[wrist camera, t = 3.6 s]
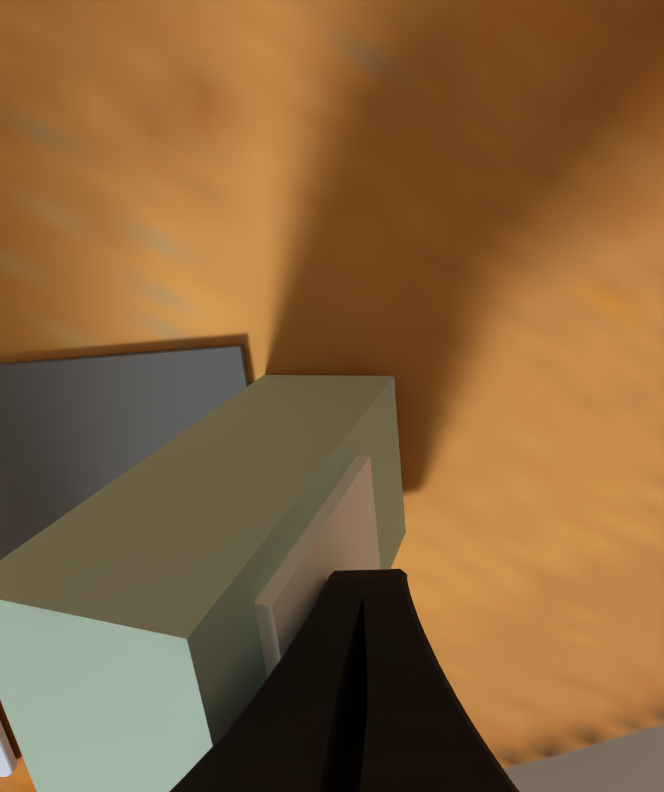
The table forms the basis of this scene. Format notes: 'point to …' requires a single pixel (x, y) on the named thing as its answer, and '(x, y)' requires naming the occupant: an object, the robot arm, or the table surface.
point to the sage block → (193, 580)
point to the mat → (96, 424)
